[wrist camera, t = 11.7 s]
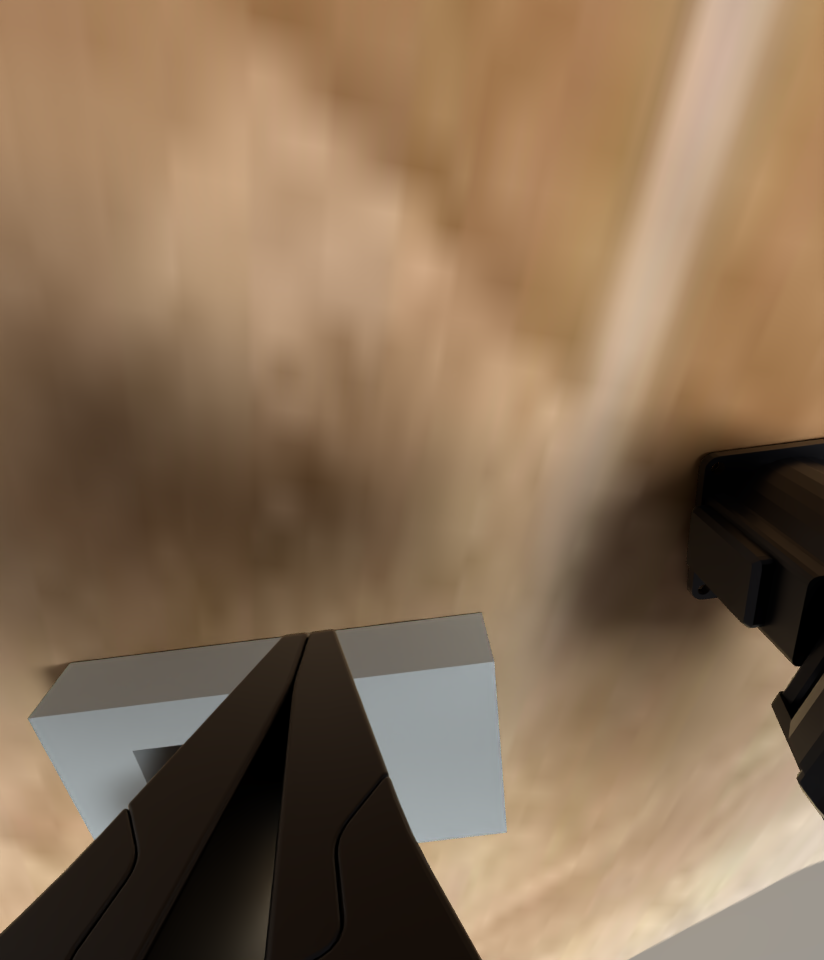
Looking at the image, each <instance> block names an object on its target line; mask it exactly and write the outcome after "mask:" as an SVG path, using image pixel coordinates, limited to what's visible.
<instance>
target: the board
mask: <svg viewBox="0 0 824 960" xmlns="http://www.w3.org/2000/svg"><path fill="white" fill-rule="evenodd" d="M336 634H337V636H338V639H339V642H340V644H341V647H342V650H343V652H344V655H345V658H346V660H347V663H348V666H349V668H350V671H351V674H352V676H353V679H354V682H355V684H356V687H357V690H358V693H359V695H360V698H361V701H362V703H363V706H364V709H365V711H366V714H367V717H368V719H369V722H370V725H371V727H372V730H373V733H374V735H375V738H376V741H377V744H378V746H379V749H380V752H381V754H382V757H383V760H384V762H385V765H386V768H387V770H388V773H389V777H390V779H391V780H392V783H393V786H394V788H395V791H396V794H397V796H398V799H399V802H400V804H401V807H402V809H403V811H404V814H405V816H406V818H407V821H408V823H409V826H410V828H411V830H412V833H413V835H414V837H415V839H416V841H417V843H421V842H430V841H438V840H447V839H455V838H463V837H472V836H480V835H489V834H497V833H506V832H507V827H506V814H505V800H504V787H503V773H502V760H501V746H500V733H499V719H498V706H497V692H496V679H495V665H494V659H493V655H492V651H491V647H490V643H489V639H488V635H487V631H486V627H485V623H484V619H483V616H482V613H474V614H466V615H458V616H450V617H442V618H434V619H425V620H417V621H409V622H401V623H393V624H385V625H377V626H368V627H360V628H352V629H344V630H336ZM309 635H310V634H309ZM281 638H282V637H279V638H271V639H263V640H255V641H246V642H238V643H230V644H222V645H214V646H206V647H198V648H189V649H181V650H173V651H165V652H157V653H149V654H141V655H133V656H124V657H116V658H108V659H100V660H92V661H84V662H76V663H69V665H68V666H67V667H66V669H65V670H64V671H63V673H62V674H61V675H60V677H59V678H58V679H57V681H56V682H55V683H54V685H53V686H52V687H51V689H50V690H49V691H48V693H47V694H46V695H45V696H44V698H43V699H42V700H41V702H40V703H39V704H38V706H37V707H36V708H35V710H34V711H33V712H32V714H31V715H30V716H29V718H28V720H29V722H30V723H31V725H32V727H33V729H34V731H35V733H36V734H37V736H38V738H39V740H40V742H41V744H42V745H43V747H44V749H45V751H46V753H47V755H48V756H49V758H50V760H51V762H52V764H53V766H54V767H55V769H56V771H57V773H58V775H59V776H60V778H61V780H62V782H63V784H64V786H65V787H66V789H67V791H68V793H69V795H70V797H71V798H72V800H73V802H74V804H75V806H76V808H77V809H78V811H79V813H80V815H81V817H82V819H83V820H84V822H85V824H86V826H87V828H88V830H89V831H90V833H91V835H92V837H93V839H94V840H95V839H96V838H97V837H98V836H99V835H100V834H101V833H102V832H103V831H104V830H105V828H106V827H107V826H108V825H109V824H110V823H111V822H112V821H113V820H114V819H115V818H116V817H117V815H118V814H119V813H120V812H121V811H122V810H123V809H128V804H129V803H130V802H131V801H132V799H133V798H134V797H135V796H136V795H137V794H138V793H139V792H140V791H141V790H142V789H143V788H144V786H145V785H146V784H147V783H148V782H149V781H150V780H151V779H152V778H153V777H154V776H155V774H156V773H157V772H158V771H159V770H160V769H161V768H162V767H163V766H164V765H165V764H166V763H167V761H168V760H169V759H170V758H171V757H172V756H173V755H174V754H175V753H176V752H177V751H178V750H179V748H180V747H181V746H182V745H183V744H184V743H185V742H186V741H187V740H188V739H189V738H190V737H191V735H192V734H193V733H194V732H195V731H196V730H197V729H198V728H199V727H200V726H201V725H202V723H203V722H204V721H205V720H206V719H207V718H208V717H209V716H210V715H211V714H212V713H213V712H214V710H215V709H216V708H217V707H218V706H219V705H220V704H221V703H222V702H223V701H224V700H225V699H226V697H227V696H228V695H229V694H230V693H231V692H232V691H233V690H234V689H235V688H236V687H237V685H238V684H239V683H240V682H241V681H242V680H243V679H244V678H245V677H246V676H247V675H248V674H249V672H250V671H251V670H252V669H253V668H254V667H255V666H256V665H257V664H258V663H259V662H260V661H261V659H262V658H263V657H264V656H265V655H266V654H267V653H268V652H269V651H270V650H271V649H272V648H273V646H274V645H275V644H276V643H277V642H278V641H279V640H280V639H281ZM128 810H129V809H128Z"/></svg>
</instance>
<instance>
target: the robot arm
mask: <svg viewBox="0 0 824 960" xmlns="http://www.w3.org/2000/svg"><path fill="white" fill-rule="evenodd" d="M718 462H719V465H718V467H717V468H716V469H715V470H713V471H711V469H712V466H713V465H714V464H716V463H718ZM686 562H687V565H688V566H689V572H688V582H687V588H688V590H689V591H690V593H691V594H692V595H693V596H694V597H695V598H697V599H710V598H719V599H720V600H721V601H722V603H723V604H724V605H725V606H726V607H727V608H728V609H729V610H730V611H731V612H732V613H733V614H734V615H735V616H736V618H737V619H738V620H739V621H740V622H741V623H742V624H744V625H745V626H746V627H748V628H756V627H758V628H759V629H760V631H761V632H762V633H763V634H764V635H765V636H766V637H767V638H768V639H769V640H770V641H771V642H772V643H773V644H774V645H775V646H776V647H777V648H778V649H779V650H780V651H781V652H782V653H783V654H784V655H785V657H786V658H787V659H788V660H789V661H790V662H791V663H792V664H793V665H795V666H800V668H799V670H798V671H797V673H796V674H795V676H794V677H793V679H792V680H791V682H790V683H789V685H788V686H787V688H786V689H785V691H780V692H779V693H778V695H777V696H776V698H775V699H774V701H773V702H772V704H771V705H772V708H773V710H774V713H775V715H776V717H777V719H778V722H779V724H780V726H781V728H782V731H783V733H784V735H785V738H786V740H787V742H788V744H789V747H790V749H791V751H792V753H793V756H794V758H795V760H796V762H797V765H798V767H799V769H800V772H799V774H798V775H797V780H798V783H799V785H800V787H801V789H802V791H803V792H804V794H805V795H806V796H807V798H808V799H809V800H810V802H811V803H812V804H813V806H814V807H815V808H816V810H817V811H818V812H819V814H820V815H821V816H822V818H823V820H824V439H818V440H810V441H802V442H794V443H786V444H778V445H771V446H763V447H755V448H747V449H739V450H731V451H723V452H715V453H711V454H708V455H707V456H705V457H704V458H703V459H702V461H701V463H700V466H699V474H698V484H697V494H696V504H695V507H694V509H693V511H692V512H691V521H690V531H689V541H688V551H687V561H686ZM704 584H705V585H704ZM701 585H704V586H703V587H702V588H700V589H699V587H700V586H701ZM128 809H129V810H128ZM128 809H123V810H122V811H121V812H120V813H119V814H118V815H117V817H116V818H115V819H114V820H113V821H112V822H111V823H110V824H109V825H108V826H107V827H106V828H105V830H104V831H103V832H102V833H101V834H100V835H99V836H98V837H97V838H96V839H95V840H94V841H93V842H92V843H91V844H90V845H89V846H88V847H87V848H86V850H85V851H84V852H83V853H82V854H81V855H80V856H79V857H78V858H77V859H76V860H75V861H74V862H73V863H72V864H71V865H70V866H69V867H68V868H67V869H66V870H65V871H64V873H62V874H61V875H60V876H59V877H58V878H57V879H56V880H55V881H54V882H53V883H52V884H51V885H50V886H49V887H48V888H47V889H46V890H45V891H44V892H43V893H42V894H41V895H40V896H39V897H38V898H37V899H36V900H35V901H34V902H33V903H32V904H31V905H30V906H29V907H28V908H27V909H26V910H25V911H24V912H23V913H22V914H21V915H20V916H19V917H17V918H16V919H15V920H14V921H13V922H12V923H11V924H10V925H9V926H8V927H7V928H6V929H5V930H4V931H3V932H2V933H1V934H0V960H482V959H481V957H480V956H479V954H478V952H477V950H476V948H475V947H474V945H473V943H472V941H471V940H470V938H469V936H468V934H467V932H466V931H465V929H464V927H463V925H462V923H461V922H460V920H459V918H458V916H457V915H456V913H455V911H454V909H453V907H452V906H451V904H450V902H449V900H448V899H447V897H446V895H445V893H444V891H443V890H442V888H441V886H440V884H439V882H438V881H437V879H436V877H435V875H434V874H433V872H432V870H431V868H430V866H429V864H428V862H427V860H426V858H425V856H424V854H423V852H422V850H421V849H420V847H419V845H418V843H417V841H416V839H415V837H414V835H413V833H412V830H411V828H410V826H409V823H408V821H407V818H406V816H405V814H404V811H403V809H402V807H401V804H400V802H399V799H398V796H397V794H396V791H395V788H394V786H393V783H392V780H391V779H390V777H389V773H388V770H387V768H386V765H385V762H384V760H383V757H382V754H381V752H380V749H379V746H378V744H377V741H376V738H375V735H374V733H373V730H372V727H371V725H370V722H369V719H368V717H367V714H366V711H365V709H364V706H363V703H362V701H361V698H360V695H359V693H358V690H357V687H356V684H355V682H354V679H353V676H352V674H351V671H350V668H349V666H348V663H347V660H346V658H345V655H344V652H343V650H342V647H341V644H340V642H339V639H338V636H337V634H336V631H335V630H332V629H331V630H323V631H315V632H312V633H311V634H310V635H309V634H308V633H298V634H290V635H285V636H283V637H282V638H281V639H280V640H279V641H278V642H277V643H276V644H275V645H274V646H273V648H272V649H271V650H270V651H269V652H268V653H267V654H266V655H265V656H264V657H263V658H262V659H261V661H260V662H259V663H258V664H257V665H256V666H255V667H254V668H253V669H252V670H251V671H250V672H249V674H248V675H247V676H246V677H245V678H244V679H243V680H242V681H241V682H240V683H239V684H238V685H237V687H236V688H235V689H234V690H233V691H232V692H231V693H230V694H229V695H228V696H227V697H226V699H225V700H224V701H223V702H222V703H221V704H220V705H219V706H218V707H217V708H216V709H215V710H214V712H213V713H212V714H211V715H210V716H209V717H208V718H207V719H206V720H205V721H204V722H203V723H202V725H201V726H200V727H199V728H198V729H197V730H196V731H195V732H194V733H193V734H192V735H191V737H190V738H189V739H188V740H187V741H186V742H185V743H184V744H183V745H182V746H181V747H180V748H179V750H178V751H177V752H176V753H175V754H174V755H173V756H172V757H171V758H170V759H169V760H168V761H167V763H166V764H165V765H164V766H163V767H162V768H161V769H160V770H159V771H158V772H157V773H156V774H155V776H154V777H153V778H152V779H151V780H150V781H149V782H148V783H147V784H146V785H145V786H144V788H143V789H142V790H141V791H140V792H139V793H138V794H137V795H136V796H135V797H134V798H133V799H132V801H131V802H130V803H129V804H128Z"/></svg>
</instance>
